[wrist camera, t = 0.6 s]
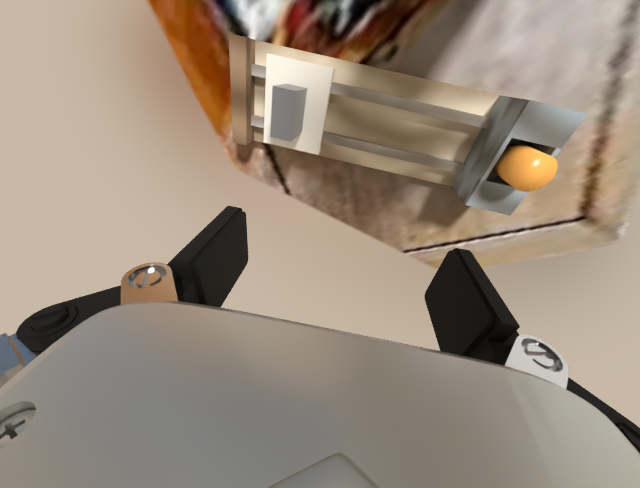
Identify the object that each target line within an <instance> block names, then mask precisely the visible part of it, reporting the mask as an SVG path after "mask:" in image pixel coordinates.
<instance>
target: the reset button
mask: <svg viewBox="0 0 640 488" xmlns="http://www.w3.org/2000/svg"><path fill="white" fill-rule="evenodd" d="M492 170H493V172H494V173H495V174H497V175H498V176H499V177H501V178H502V179H503V180H505V181H506V182H507V183H509V184H510V185H511V186H513V187H514V188H515V189H517V190H519V191H522V192H530V191H534V190H537V189H539V188H541V187H543V186H545V185H546V184H547V183H548V182H549V181H551V179H552V178H553V177H554V175H555V174H556V171H557V161H556V160H555V158H553V157H552V156H550V155H548V154H545V153H543V152H541V151H538V150H536V149H534V148H532V147H529V146H527V145H525V144H522V143H513V144H509V145H507V146H506V148H505V150H504V151H503V153H502V154H501V156H500V158H499V159H498V161H497V162H496V164H495V166H494V167H493V169H492Z"/></svg>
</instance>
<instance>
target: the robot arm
mask: <svg viewBox="0 0 640 488" xmlns="http://www.w3.org/2000/svg"><path fill="white" fill-rule="evenodd" d="M247 262H248V245H247V226H246V213H245V212H242V209H241V208H237V207H232V206H227V207H226V208H225V209H224V210H223V211H222V212H221V213H220V214H219V215H218V216H217V217H216V218H215V219H214V220H213V221H212V222H211V223H210V224H208V225H207V226H206V227H205V228H204V229H203V230H202V231H201V232H200V233H199V234H198V235H197V236H196V237H195V238H194V239H193V240H192V241H191V242H190V243H189V244H188V245H187V246H186V247H185V248H183V249H182V250H181V251H180V252H179V253H178V254H177V255H176V256H175V257H174V258H173V259H172V260H171V261H170V262H169V263H168V264H167V265H166V264H163V263H155V262H154V263H146V264H143V265H140V266H137V267H135V268H133V269H131V270H130V271H128V272H127V273H126V274H125V275H124V276H123V278H122V281H121V286H117V287H114V288H110V289H107V290H104V291H100V292H96V293H93V294H90V295H86V296H83V297H79V298H76V299H73V300H69V301H66V302H62V303H59V304H55V305H52V306H49V307H47V308H44V309H42V310H40V311H38V312H36V313H34V314H33V315H31V316H30V317H29V318H27V319H26V320H25V321H24V322H23V323H22V324H21V325H20V326H19V328H18V330H17V332H16V333H15V334H13V335H11V336H8V335H7V334H6V333H4V334H2V335H0V488H640V428H639V427H638V426H637V425H635V424H634V423H632V422H631V421H630V420H628V419H627V418H625V417H624V416H622V415H621V414H620V413H618V412H617V411H616V410H614V409H613V408H611V407H610V406H608V405H607V404H606V403H604V402H603V401H601V400H600V399H598V398H597V397H596V396H594V395H593V394H591V393H590V392H589V391H587V390H586V389H584V388H583V387H581V386H580V385H579V384H577V383H576V382H574V381H573V380H571V379H570V378H569V377H568V376H569V367H568V365H567V363H566V361H565V359H564V358H563V357H562V356H561V354H560V353H559V352H558V351H557V350H555V349H554V348H553V347H552V346H551V345H549V344H548V343H546V342H545V341H543V340H541V339H539V338H537V337H534V336H531V335H526V334H523V335H519V334H518V332H517V331H516V330H517V329H518V328H519V327H520V326H519V325H518V323H517V321H516V320H515V319H514V317H513V315H512V314H511V312H510V311H509V309H508V308H507V306H506V305H505V303H504V302H503V300H502V299H501V297H500V296H499V294H498V292H497V291H496V289H495V288H494V286H493V285H492V283H491V282H490V280H489V279H488V277H487V276H486V274H485V273H484V271H483V269H482V268H481V266H480V265H479V263H478V262H477V260H476V259H475V257H474V256H473V254H472V253H471V252H470V251H469V250H464V249H458V248H455V249H453V250H452V251H449V252H448V253H447V255H446V257H445V258H444V260H443V262H442V264H441V266H440V267H439V269H438V271H437V273H436V275H435V276H434V278H433V280H432V282H431V284H430V285H429V287H428V289H427V290H426V293H425V301H426V305H427V308H428V311H429V314H430V318H431V321H432V324H433V327H434V331H435V334H436V338H437V341H438V344H439V347H440V350H441V351H437V350H432V349H427V348H423V347H418V346H413V345H408V344H403V343H398V342H393V341H389V340H383V339H379V338H373V337H369V336H363V335H359V334H353V333H349V332H344V331H339V330H334V329H329V328H323V327H319V326H314V325H308V324H304V323H299V322H293V321H288V320H283V319H278V318H273V317H267V316H262V315H257V314H252V313H247V312H242V311H236V310H230V309H225V308H220V307H221V306H222V304H223V302H224V301H225V299H226V297H227V296H228V294H229V293H230V291H231V289H232V288H233V286H234V284H235V282H236V281H237V279H238V278H239V276H240V274H241V273H242V271H243V270H244V268H245V266H246V264H247Z"/></svg>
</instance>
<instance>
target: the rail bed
mask: <svg viewBox="0 0 640 488" xmlns="http://www.w3.org/2000/svg"><path fill="white" fill-rule="evenodd" d="M229 52H230V79H231V106H232V132H233V143H238V144H242V145H248V144H250V143H251V142H253V141H257V142H261V143H265V142H263V141H264V113H265V85H266V57H267V53H269V54H273V55H278V56H282V57H286V58H291V59H295V60H300V61H304V62H309V63H313V64H317V65H322V66H326V67H331V68H335V74H334V75H333V81H332V87H331V92H330V98H329V104H328V109H327V115H326V121H325V126H324V132H323V138H322V144H321V146H322V147H321V151H320V153H319V155H318V156H322V157H326V158H331V159H335V160H339V161H344V162H348V163H352V164H357V165H361V166H365V167H370V168H374V169H378V170H383V171H387V172H391V173H396V174H400V175H405V176H409V177H413V178H418V179H422V180H426V181H431V182H435V183H439V184H444V185H448V186H451V187H452V188H453V190H454V191H455V192H456V194H457V195H458V196H459V197H460V199H461V200H462V201H463V202H464V204H465V205H468V206H472V207H476V208H481V209H485V210H489V211H494V212H498V213H502V214H506V215H511V214H512V213H513V212H514V210H515V209H516V208H517V206H518V205H519V204H520V202H521V201H522V200H523V198H524V197H525V196H526V194H527V193H528V192H522V191H519V190H517V189H515V188H514V187H513V186H511V185H510V184H509V183H507V182H506V181H505V180H503V179H502V178H501V177H499V176H498V175H497V174H495V173H494V172H493V170H492V169H493V167H494V166H495V164H496V162H497V161H498V159H499V158H500V156H501V154H502V153H503V151H504V150H505V148H506V146H507V145H509V144H513V143H522V144H525V145H527V146H529V147H532V148H534V149H536V150H538V151H541V152H543V153H545V154H548V155H550V156H552V157H553V158H555V156H556V155H557V154H558V152H559V151H560V150H561V149H562V147H563V146H564V145H565V143H566V142H567V141H568V139H569V138H570V137H571V135H572V134H573V133H574V131H575V130H576V129H577V128H578V126H579V125H580V124H581V122H582V121H583V120H584V118H585V117H586V116H587V114H588V113H584V112H579V111H575V110H570V109H566V108H562V107H557V106H553V105H548V104H544V103H539V102H535V101H531V100H525V99H518V98H512V97H506V96H500V95H495V94H491V93H486V92H482V91H478V90H473V89H469V88H464V87H460V86H455V85H451V84H447V83H442V82H438V81H433V80H429V79H425V78H420V77H416V76H411V75H407V74H402V73H398V72H394V71H389V70H385V69H380V68H376V67H372V66H367V65H363V64H358V63H354V62H349V61H345V60H341V59H336V58H332V57H327V56H323V55H318V54H314V53H310V52H305V51H301V50H296V49H292V48H288V47H283V46H279V45H274V44H270V43H265V42H261V41H257V40H253V39H250V38H247V37H243V36H238V35H234V34H229ZM266 144H269V143H266ZM270 145H274V144H270ZM274 146H278V145H274ZM279 147H282V146H279ZM283 148H287V147H283ZM287 149H291V148H287ZM292 150H295V149H292ZM296 151H300V150H296ZM300 152H304V151H300ZM305 153H308V152H305ZM309 154H313V153H309ZM313 155H317V154H313Z"/></svg>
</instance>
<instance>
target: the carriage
mask: <svg viewBox="0 0 640 488" xmlns="http://www.w3.org/2000/svg"><path fill="white" fill-rule="evenodd" d="M334 74H335V68H331V67H326V66H322V65H317V64H313V63H309V62H304V61H300V60H295V59H291V58H286V57H282V56H278V55H273V54H269V53H267V57H266V85H265V113H264V141H263V142H265V143H269V144H274V145H278V146H282V147H287V148H291V149H295V150H300V151H304V152H308V153H313V154H317V155H319V153H320V151H321V147H322V146H321V144H322V138H323V132H324V126H325V121H326V115H327V109H328V104H329V98H330V92H331V87H332V81H333V75H334Z"/></svg>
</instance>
